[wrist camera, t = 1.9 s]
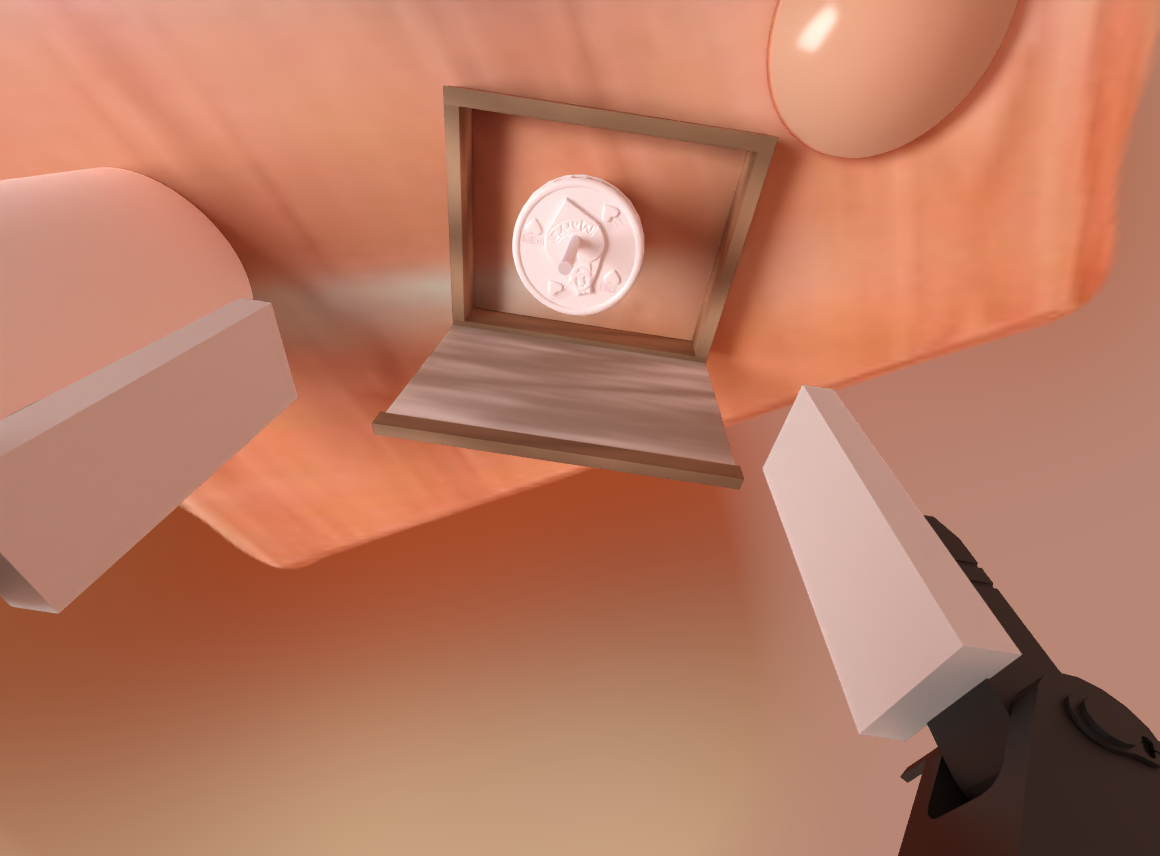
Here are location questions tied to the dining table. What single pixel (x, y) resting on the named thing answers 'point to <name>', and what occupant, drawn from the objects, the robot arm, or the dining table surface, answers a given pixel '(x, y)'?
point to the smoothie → (578, 244)
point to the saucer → (877, 67)
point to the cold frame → (576, 339)
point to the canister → (99, 275)
